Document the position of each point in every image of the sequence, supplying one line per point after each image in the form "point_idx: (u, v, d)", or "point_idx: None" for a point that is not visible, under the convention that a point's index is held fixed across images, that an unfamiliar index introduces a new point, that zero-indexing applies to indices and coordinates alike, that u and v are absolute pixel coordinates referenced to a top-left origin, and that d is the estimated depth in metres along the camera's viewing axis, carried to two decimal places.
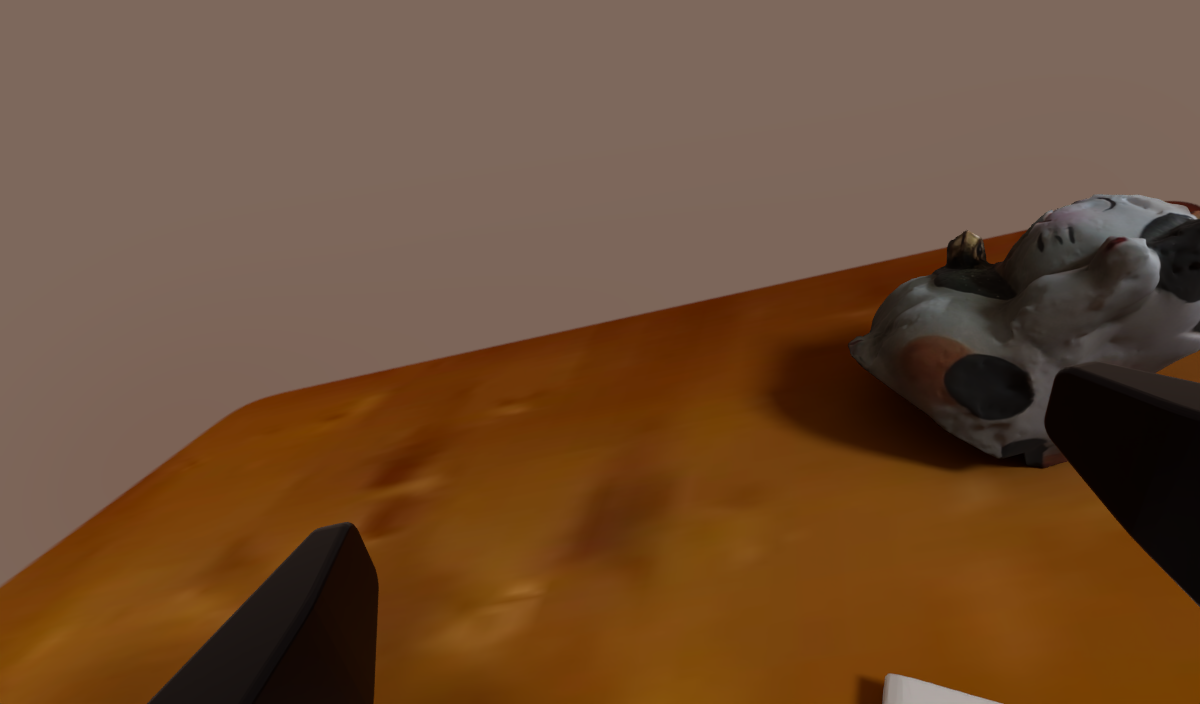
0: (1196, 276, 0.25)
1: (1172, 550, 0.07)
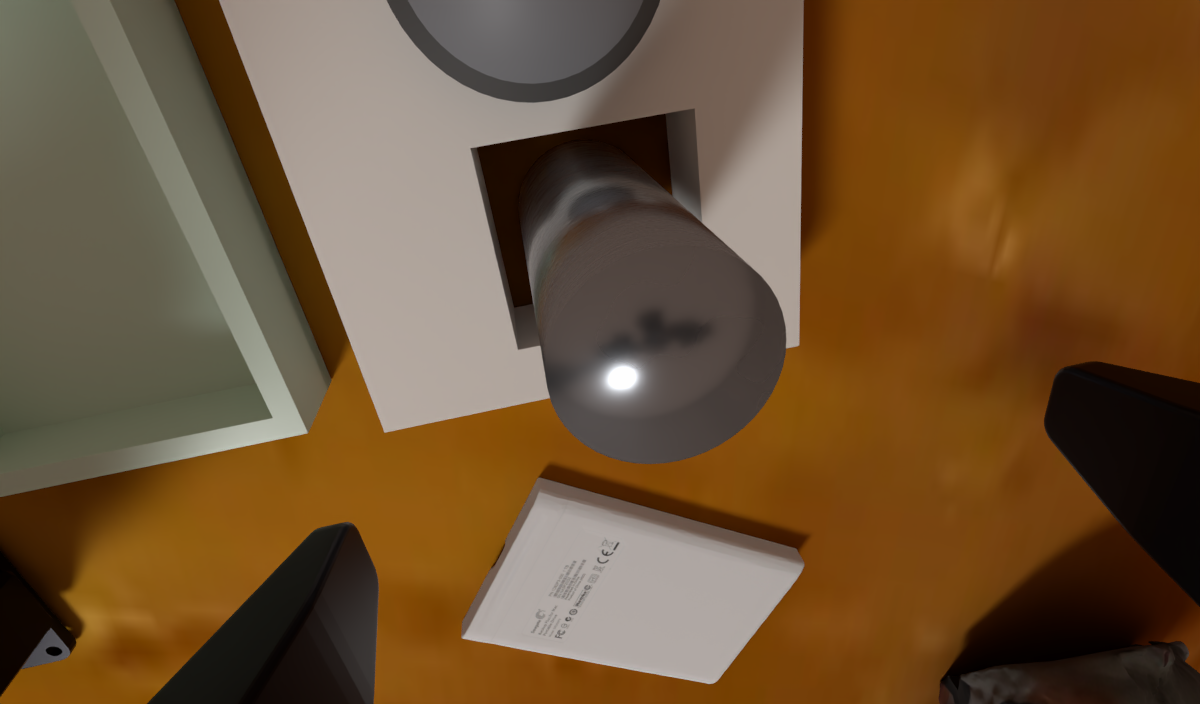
0: None
1: (1172, 550, 0.07)
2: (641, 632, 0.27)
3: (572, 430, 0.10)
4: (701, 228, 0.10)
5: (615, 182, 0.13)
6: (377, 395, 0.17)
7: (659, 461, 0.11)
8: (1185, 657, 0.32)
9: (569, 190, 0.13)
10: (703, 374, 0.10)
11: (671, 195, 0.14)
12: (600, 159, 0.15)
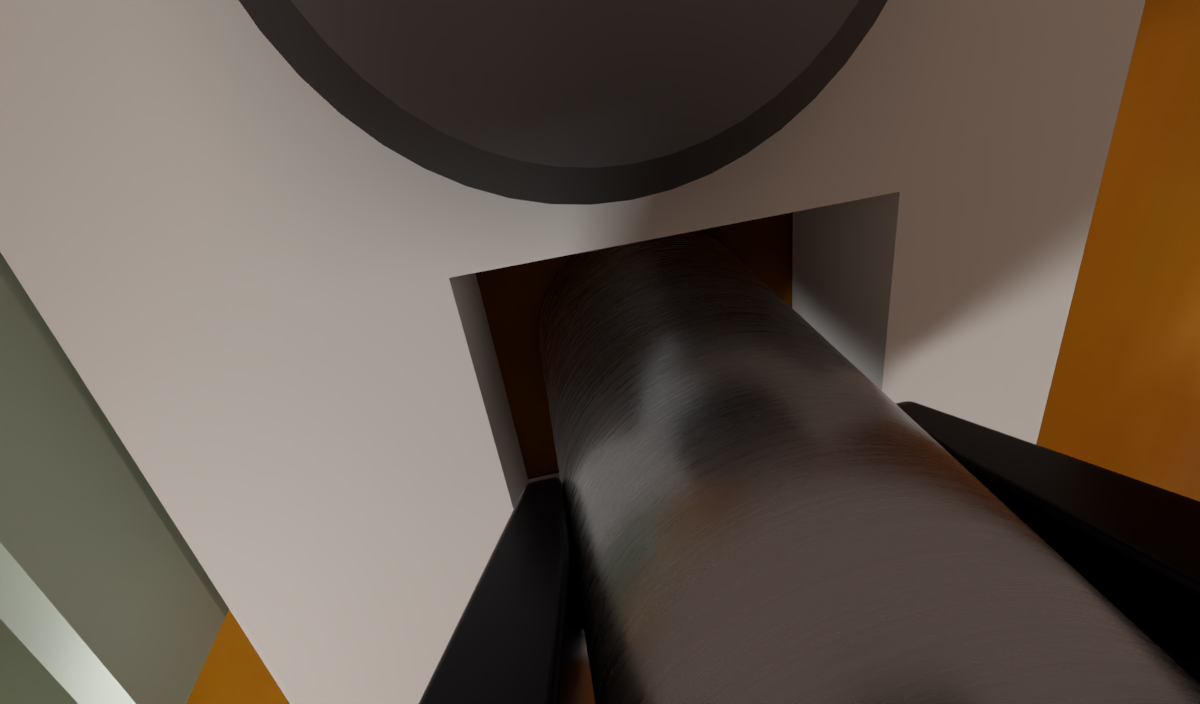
0: None
1: None
2: None
3: None
4: None
5: (792, 403, 0.05)
6: (289, 682, 0.10)
7: None
8: None
9: (671, 401, 0.06)
10: None
11: (900, 409, 0.06)
12: (710, 292, 0.08)
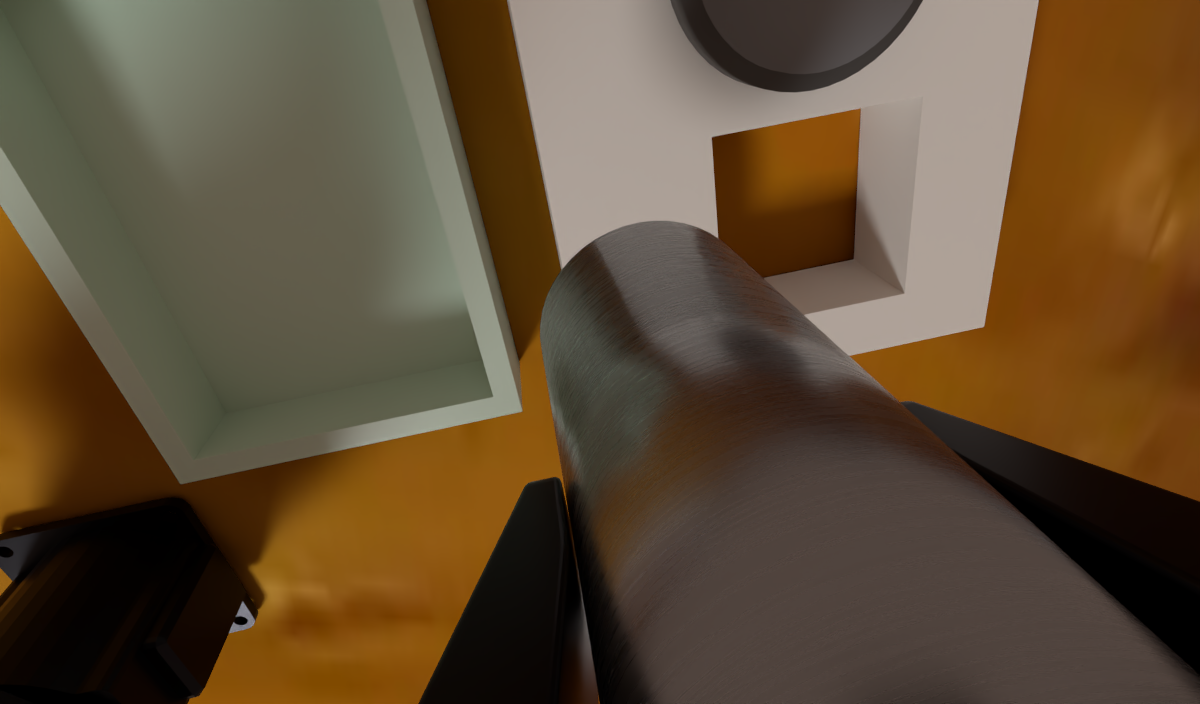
0: None
1: None
2: None
3: None
4: None
5: (797, 401, 0.05)
6: None
7: None
8: None
9: (676, 400, 0.06)
10: None
11: (904, 407, 0.06)
12: (714, 290, 0.08)
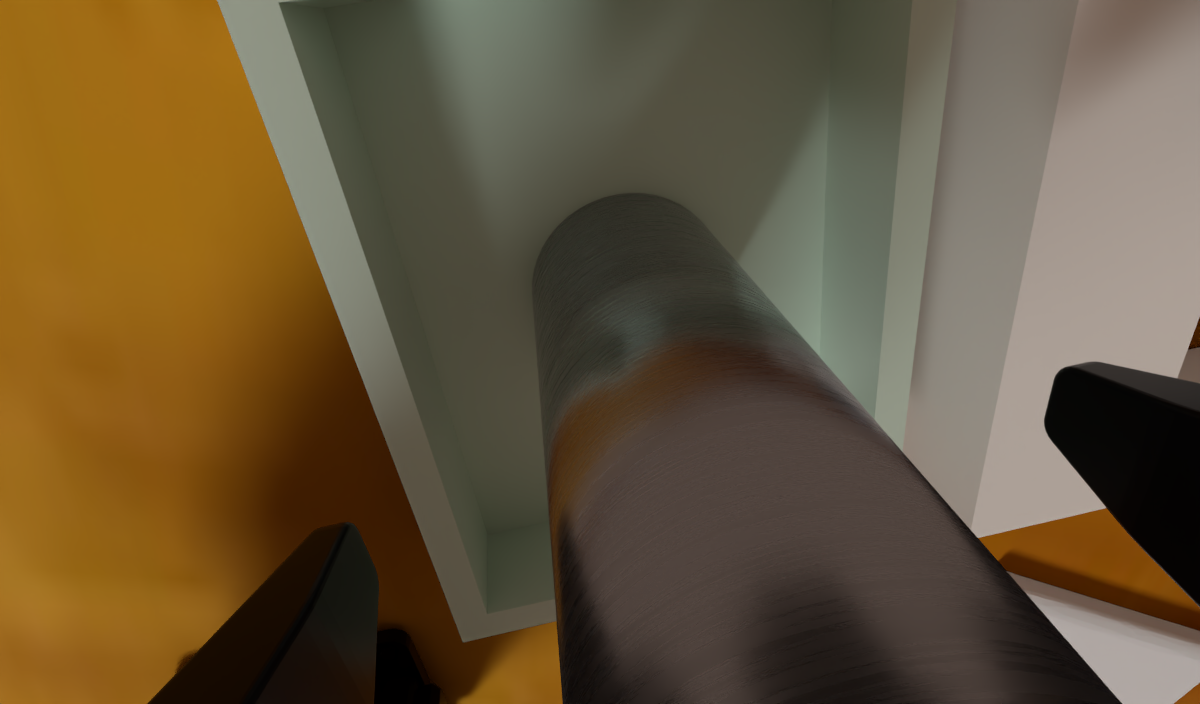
0: None
1: (1172, 550, 0.07)
2: None
3: None
4: (938, 523, 0.05)
5: (708, 328, 0.07)
6: (983, 499, 0.14)
7: None
8: None
9: (620, 329, 0.07)
10: None
11: (801, 340, 0.08)
12: (666, 249, 0.09)
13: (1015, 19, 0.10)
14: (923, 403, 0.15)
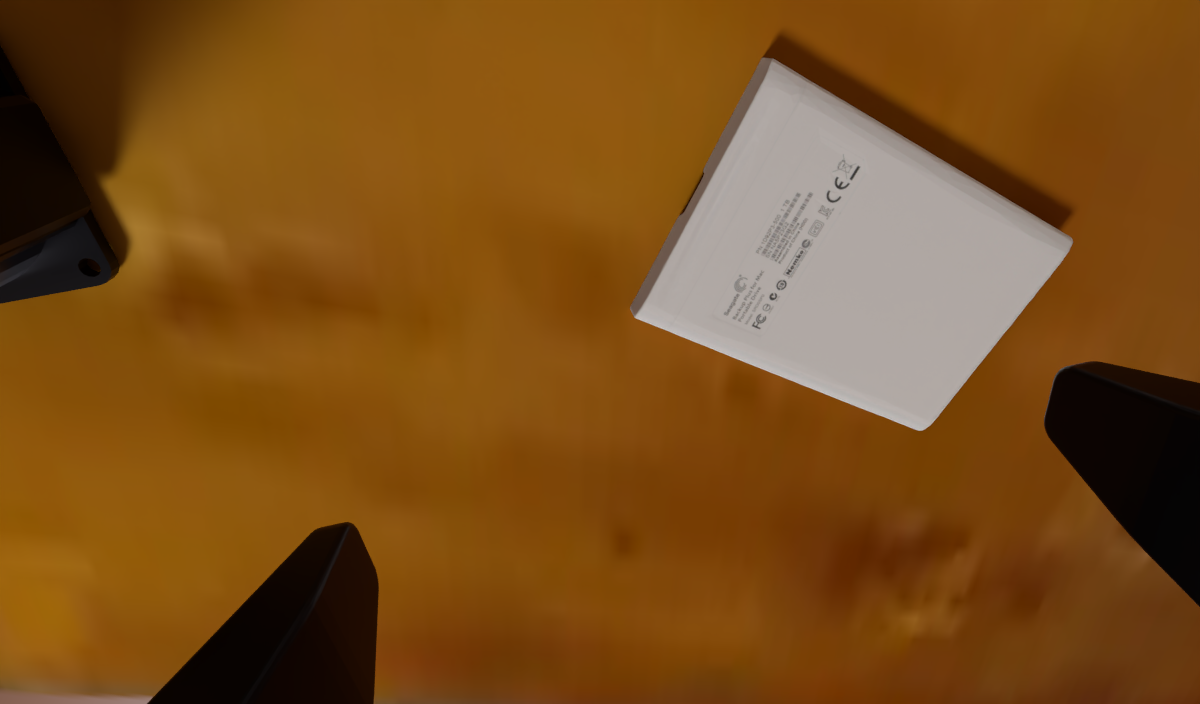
0: None
1: (1172, 550, 0.07)
2: (858, 330, 0.20)
3: None
4: None
5: None
6: None
7: None
8: None
9: None
10: None
11: None
12: None
13: None
14: None
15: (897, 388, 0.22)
